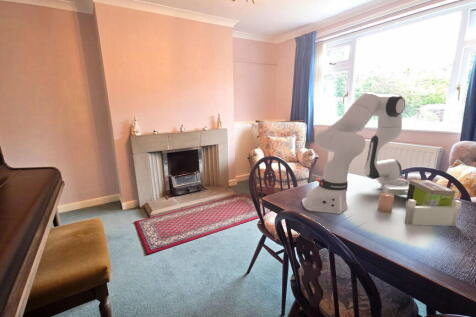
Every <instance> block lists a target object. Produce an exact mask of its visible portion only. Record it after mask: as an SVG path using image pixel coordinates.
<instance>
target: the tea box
mask: <svg viewBox="0 0 476 317" xmlns="http://www.w3.org/2000/svg"><path fill="white" fill-rule="evenodd" d="M409 180H410V183H409V188H408V194H407V196H406V201H405V208H407V205H408V199H413V200H415V201H416V206H450V207H451V205H452V200H455V194H456V190H455V189H451V188H450V187H447V186H444V185H443V184H440V183H437V182H435V181H433V180H430V179H429V180H426V179H425V180H424V179H422V180H421V179H420V180H419V179H409Z"/></svg>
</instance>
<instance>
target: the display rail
mask: <svg viewBox="0 0 476 317" xmlns="http://www.w3.org/2000/svg"><path fill="white" fill-rule="evenodd" d="M461 207H462V201H460V200H457V199H453V200H452V205H451V207H450V206H416V201H415V200H413V199H408V205H407V207H406V211H405V218H404V223H405V224H406V225H408V226H447V227H448V226H454V227H455V226H457V224H458V219H459V216H460V215H459V214H460V210H461Z"/></svg>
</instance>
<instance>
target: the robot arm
mask: <svg viewBox="0 0 476 317" xmlns="http://www.w3.org/2000/svg"><path fill="white" fill-rule="evenodd" d="M405 108H406V101H405V98H404V96H402V95H398V94H376V93H374V92H371V91H370V92H369V91H367V92H364V93H362V94H361V95H360V96H359V97H358V98H357V99H356V100H355V101H354V102H353V103H352V104H351V106H349V108H348V109H347V111H346V112H345V113H344V114H343V115H342V116H341V117H340V119H338V120H337V121H336V122H334V123H333V124H332V125H331V126H328V127H327V128H324V129H322V130H320V131H318V132H317V133H316V135H315V138H314V142H315V145H316V147H317V148H319V149H321V150H323V151H326V152H331V153H333V156H332V158H331V159H330V160H328V161H326V163H325V164H324V166H323V178H320V177H317V178H316V182H317V183H318V185H317V186H315V187H314V188H312V189H310V190H308V192H307V194H306V197H303V198H302V199H301V204H302V206H303V207H304V209H306V210H307V211H310V212H319V213H327V214H328V213H329V214H337V215H338V214H342V213H343V212H345V211H347V210H348V207H349V206H348V203H347V191H348V187H349V186H348V183H349V182H348V175H349V169H350V165H351V164H352V162H353V160H354V159H355V158H357V157H358V156H360V155H361V154H362V153H363V152H364V150H365V149H366V139H365V138H364V136H363V135H361V134H358V133H359V132H362V130H363V129H364V128H365V126H367V124H368V123H369V121H370V120H371V118H372V117H378V119H377V129H376V132H375V134H374V135H373V136H372V137H371V139H370V142H369V147H368V152H367V158H366V162H365V165H364V175H365V176H366V177H367V178H369V179H372V180H374V179H375V180H377V182H378V183H379V185H380V187H379V188H380V189H382V190H383V193H389V194H392V195H394V196H406V197H407V194H408V188H409V183H410V180H411V179H404V178H400V177H401V175H402V172H403V171H402V170H403V169H402V165H401V164H400V162H399V161H398V160H396V159H395V158H389V159H383V160H378V158H379V152H380V150H381V149H382V148H383V147H384V146H386V145H387V144H389V143H391V142H393V141H395V140H396V139H398V138H399V136H400V135H401V133H402V127H403V121H402V119H403V117H402V113H403V112H404V111H405Z"/></svg>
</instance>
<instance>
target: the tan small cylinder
mask: <svg viewBox="0 0 476 317" xmlns="http://www.w3.org/2000/svg"><path fill="white" fill-rule="evenodd" d="M394 201H395V195H392V194H389V193H385V192H380V193H379V197H378V203H377V210H378V212H382V213H387V214H391V213H393V209H394V208H393V207H394Z"/></svg>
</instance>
